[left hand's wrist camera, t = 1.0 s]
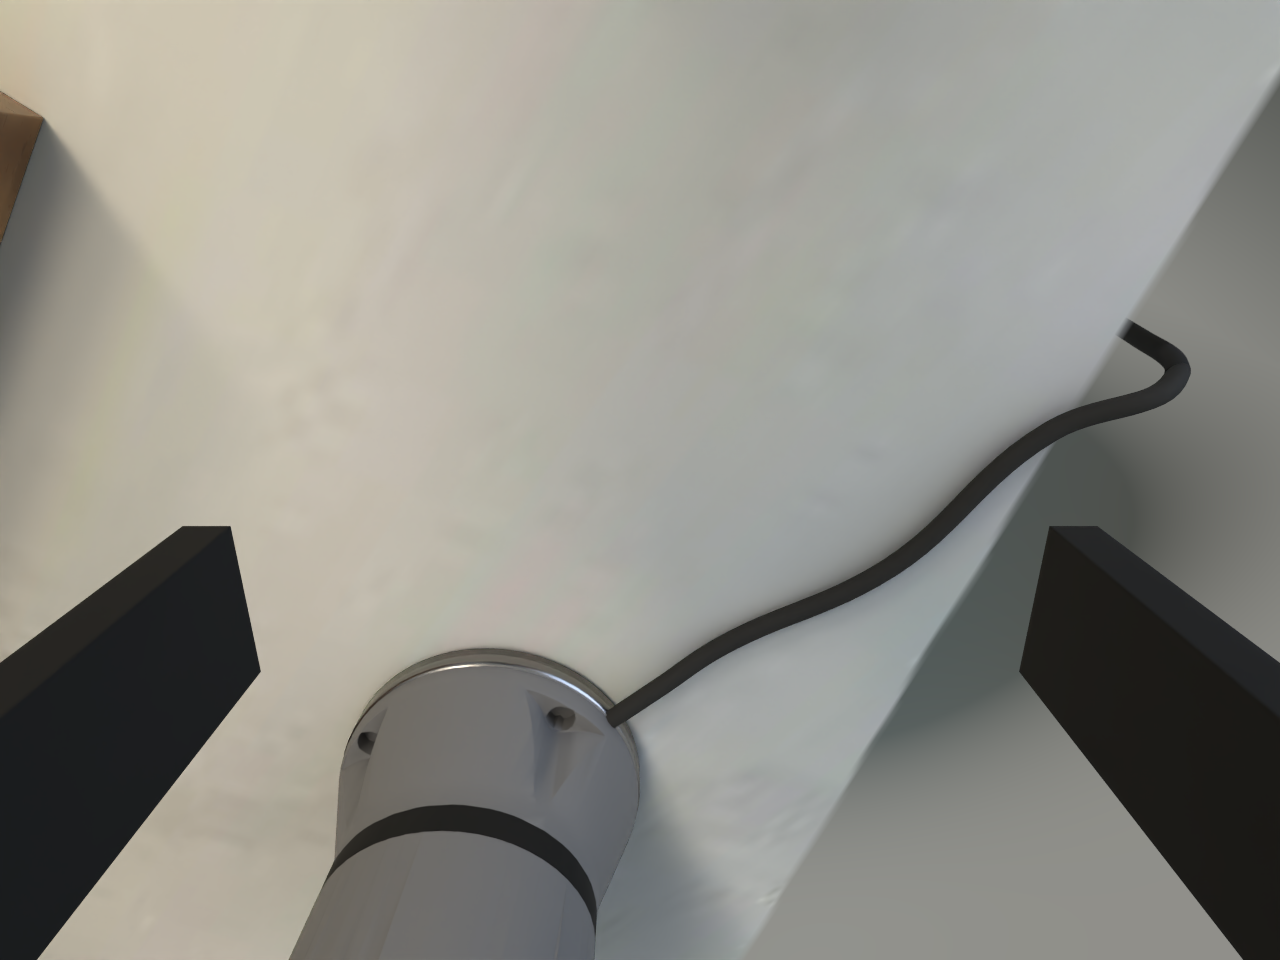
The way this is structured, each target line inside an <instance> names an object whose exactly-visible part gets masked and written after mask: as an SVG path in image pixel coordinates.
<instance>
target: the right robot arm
mask: <svg viewBox="0 0 1280 960" xmlns="http://www.w3.org/2000/svg"><path fill="white" fill-rule="evenodd" d="M1118 337H1120V338H1121V339H1123V340H1124V341H1126V342H1127V343H1129V344H1130V345H1132V346H1133V347H1135V348H1136V349H1138V350H1139V351H1141V352H1143V353H1145V354H1146V355H1148V356H1149V357H1151V358H1153V359H1154V360H1156V361H1157V362H1158V363H1159V364H1160V365H1161V366H1162V367H1163V368H1164V370H1165V372H1164V375H1163V376H1162V378H1161V379H1160V380H1159V381H1158V382H1156V383H1155V384H1154V385H1152V386H1150V387H1148V388H1146V389H1144V390H1141V391H1138V392H1135V393H1131V394H1127V395H1123V396H1119V397H1116V398H1111V399H1107V400H1103V401H1099V402H1095V403H1092V404H1089V405H1085V406H1082V407H1079V408H1076V409H1073V410H1070V411H1068V412H1066V413H1063V414H1061V415H1059V416H1057V417H1055V418H1053V419H1051V420H1049V421H1047V422H1045V423H1044V424H1042V425H1041V426H1039V427H1038V428H1036V429H1034V430H1033V431H1031V432H1030V433H1028V434H1027V435H1025V436H1024V437H1022V438H1021V439H1020V440H1018V441H1017V442H1016V443H1014V444H1013V445H1011V446H1010V447H1009V448H1008V449H1006V450H1005V451H1004V452H1003V453H1002V454H1000V455H999V456H998V457H997V458H996V459H994V460H993V461H992V462H991V463H990V464H989V465H988V466H987V467H986V468H985V469H983V470H982V471H981V472H980V473H979V474H978V475H977V476H976V477H975V478H974V479H973V480H972V481H971V482H970V483H969V484H968V485H967V486H966V487H965V488H964V489H963V490H962V491H961V492H960V493H959V494H958V495H957V497H956V498H955V499H954V500H953V501H952V502H951V503H950V504H949V505H948V506H947V507H946V508H945V509H944V510H943V511H942V512H941V513H940V514H939V515H938V516H937V517H936V518H935V519H934V520H933V521H932V522H931V523H929V524H928V525H927V526H926V527H925V528H924V529H923V530H922V531H921V532H920V533H918V534H917V535H916V536H915V537H914V538H913V539H911V540H910V541H909V542H908V543H906V544H905V545H904V546H902V547H901V548H900V549H898V550H897V551H896V552H894V553H893V554H891V555H890V556H888V557H887V558H885V559H884V560H882V561H881V562H879V563H877V564H876V565H874V566H872V567H871V568H869V569H867V570H866V571H864V572H862V573H860V574H858V575H857V576H855V577H853V578H851V579H849V580H847V581H845V582H843V583H841V584H839V585H836V586H834V587H832V588H830V589H827V590H825V591H823V592H820V593H818V594H816V595H813V596H811V597H808V598H806V599H803V600H801V601H798V602H796V603H793V604H791V605H788V606H785V607H783V608H780V609H778V610H775V611H773V612H770V613H768V614H766V615H763V616H761V617H758V618H756V619H754V620H752V621H750V622H747V623H745V624H743V625H741V626H739V627H737V628H735V629H733V630H731V631H729V632H727V633H725V634H723V635H721V636H719V637H718V638H716V639H714V640H712V641H710V642H709V643H707V644H705V645H704V646H702V647H700V648H699V649H697V650H696V651H694V652H693V653H691V654H690V655H688V656H687V657H686V658H684V659H683V660H681V661H680V662H679V663H677V664H676V665H674V666H673V667H672V668H670V669H669V670H667V671H666V672H665V673H663V674H662V675H660V676H659V677H657V678H656V679H654V680H653V681H651V682H650V683H648V684H647V685H645V686H644V687H642V688H641V689H639V690H638V691H636V692H635V693H633V694H632V695H630V696H629V697H627V698H626V699H624V700H623V701H621V702H620V703H618V704H617V705H615V706H614V705H613V703H612V702H611V701H610V700H609V699H608V698H607V697H606V696H605V695H604V694H603V693H602V692H601V691H600V690H599V689H598V688H597V687H595V686H594V685H593V684H592V683H590V682H589V681H588V680H586V679H585V678H583V677H582V676H580V675H579V674H577V673H575V672H573V671H572V670H570V669H568V668H566V667H564V666H562V665H560V664H557V663H555V662H553V661H550V660H547V659H545V658H542V657H539V656H535V655H531V654H527V653H523V652H517V651H511V650H503V649H470V650H461V651H455V652H450V653H445V654H442V655H438V656H434V657H432V658H429V659H426V660H424V661H421V662H419V663H417V664H415V665H413V666H411V667H409V668H407V669H405V670H404V671H402V672H401V673H399V674H397V675H396V676H395V677H393V678H392V679H391V680H390V681H388V682H387V683H386V684H385V685H384V686H383V687H382V688H381V689H380V690H379V691H378V692H377V693H376V694H375V695H374V697H373V698H372V699H371V700H370V701H369V703H368V705H367V706H366V708H365V709H364V711H363V713H362V715H361V716H360V718H359V720H358V722H357V724H356V726H355V728H354V730H353V732H352V734H351V736H350V738H349V740H348V743H347V746H346V749H345V753H344V757H343V761H342V765H341V770H340V778H339V793H338V810H337V828H336V845H335V860H334V863H333V865H332V867H331V869H330V871H329V873H328V876H327V878H326V880H325V882H324V885H323V887H322V889H321V891H320V893H319V895H318V897H317V900H316V902H315V904H314V906H313V908H312V910H311V913H310V915H309V917H308V919H307V921H306V923H305V926H304V928H303V930H302V932H301V934H300V936H299V939H298V941H297V943H296V945H295V947H294V949H293V952H292V954H291V956H290V958H289V960H594V955H595V935H596V919H597V910H598V908H599V906H600V904H601V901H602V899H603V897H604V894H605V892H606V890H607V888H608V885H609V883H610V881H611V879H612V876H613V874H614V872H615V870H616V867H617V865H618V863H619V861H620V858H621V856H622V854H623V852H624V849H625V847H626V845H627V842H628V840H629V837H630V835H631V832H632V829H633V826H634V822H635V818H636V814H637V810H638V804H639V759H638V753H637V749H636V745H635V741H634V739H633V736H632V734H631V731H630V729H629V727H628V725H627V723H626V721H627V720H628V719H630V718H631V717H633V716H634V715H636V714H637V713H639V712H640V711H642V710H643V709H645V708H646V707H648V706H649V705H651V704H652V703H654V702H655V701H657V700H658V699H660V698H661V697H663V696H664V695H666V694H667V693H669V692H670V691H672V690H673V689H675V688H676V687H678V686H679V685H680V684H682V683H683V682H685V681H686V680H687V679H689V678H690V677H692V676H693V675H694V674H696V673H697V672H699V671H700V670H702V669H703V668H705V667H706V666H708V665H709V664H711V663H712V662H714V661H716V660H717V659H719V658H721V657H723V656H725V655H726V654H728V653H730V652H732V651H734V650H736V649H738V648H740V647H742V646H744V645H746V644H748V643H750V642H752V641H754V640H757V639H759V638H761V637H763V636H766V635H768V634H770V633H773V632H775V631H778V630H780V629H783V628H785V627H788V626H790V625H793V624H795V623H798V622H801V621H803V620H806V619H808V618H811V617H813V616H816V615H818V614H821V613H823V612H826V611H828V610H831V609H833V608H835V607H838V606H840V605H842V604H844V603H847V602H849V601H851V600H853V599H855V598H857V597H859V596H861V595H863V594H865V593H867V592H869V591H871V590H872V589H874V588H876V587H878V586H880V585H881V584H883V583H885V582H886V581H888V580H890V579H891V578H893V577H895V576H896V575H898V574H899V573H901V572H902V571H904V570H905V569H907V568H908V567H909V566H911V565H912V564H914V563H915V562H916V561H918V560H919V559H920V558H921V557H923V556H924V555H925V554H927V553H928V552H929V551H930V550H931V549H932V548H934V547H935V546H936V545H937V544H938V543H939V542H941V541H942V540H943V539H944V538H945V537H946V536H947V535H948V534H949V533H950V532H951V531H952V530H953V529H954V528H955V527H956V526H957V525H958V524H959V523H960V522H961V521H962V520H963V519H964V518H965V517H966V516H967V515H968V514H969V513H970V512H971V511H972V510H973V509H974V508H975V507H976V506H977V505H978V504H979V503H980V502H981V501H982V500H983V499H984V498H985V497H986V496H987V495H988V494H989V493H990V492H991V491H992V490H993V489H994V488H995V487H996V486H997V485H999V484H1000V483H1001V482H1002V481H1003V480H1004V479H1005V478H1006V477H1007V476H1009V475H1010V474H1011V473H1012V472H1013V471H1014V470H1016V469H1017V468H1018V467H1019V466H1020V465H1022V464H1023V463H1024V462H1025V461H1027V460H1028V459H1030V458H1031V457H1032V456H1034V455H1035V454H1036V453H1038V452H1039V451H1041V450H1042V449H1044V448H1045V447H1047V446H1048V445H1050V444H1052V443H1053V442H1055V441H1056V440H1058V439H1060V438H1062V437H1064V436H1066V435H1067V434H1070V433H1072V432H1074V431H1077V430H1079V429H1083V428H1085V427H1088V426H1092V425H1095V424H1099V423H1103V422H1107V421H1111V420H1115V419H1119V418H1123V417H1127V416H1132V415H1135V414H1139V413H1142V412H1145V411H1148V410H1151V409H1154V408H1157V407H1159V406H1161V405H1164V404H1166V403H1167V402H1169V401H1171V400H1172V399H1174V398H1175V397H1176V396H1177V395H1178V394H1179V393H1180V392H1181V391H1182V390H1183V388H1184V387H1185V385H1186V383H1187V381H1188V379H1189V376H1190V374H1191V368H1190V365H1189V362H1188V359H1187V357H1186V356H1185V355H1184V353H1183V352H1182V351H1181V350H1180V349H1178V348H1177V347H1176V346H1174V345H1173V344H1171V343H1169V342H1168V341H1166V340H1164V339H1162V338H1160V337H1159V336H1157V335H1155V334H1153V333H1151V332H1150V331H1148V330H1146V329H1145V328H1143V327H1141V326H1140V325H1138V324H1136V323H1135V322H1133V321H1131V320H1129V319H1128V320H1127V322H1126V323H1125V325H1124V326H1123V328H1122V330H1121V331H1120V333H1119V335H1118Z"/></svg>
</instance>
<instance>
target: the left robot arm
mask: <svg viewBox="0 0 1280 960" xmlns="http://www.w3.org/2000/svg"><path fill="white" fill-rule="evenodd" d="M260 672H261V670H260V666H259V661H258V656H257V651H256V646H255V642H254V637H253V632H252V627H251V622H250V618H249V613H248V608H247V603H246V598H245V594H244V589H243V584H242V579H241V574H240V570H239V565H238V560H237V555H236V550H235V546H234V541H233V536H232V531H231V526H182V527H181V528H180V529H178V530H177V531H176V532H174V533H173V534H172V535H170V536H169V537H168V538H166V539H165V540H164V541H162V542H161V543H160V544H158V545H157V546H156V547H154V548H153V549H152V550H150V551H149V552H148V553H146V554H145V555H144V556H142V557H141V558H140V559H138V560H137V561H136V562H134V563H133V564H132V565H130V566H129V567H128V568H126V569H125V570H124V571H122V572H121V573H120V574H118V575H117V576H116V577H114V578H113V579H112V580H110V581H109V582H108V583H106V584H105V585H104V586H102V587H101V588H100V589H98V590H97V591H96V592H94V593H93V594H92V595H90V596H89V597H88V598H86V599H85V600H84V601H82V602H81V603H80V604H78V605H77V606H76V607H74V608H73V609H72V610H70V611H69V612H68V613H66V614H65V615H64V616H62V617H61V618H60V619H58V620H57V621H56V622H54V623H53V624H52V625H50V626H49V627H48V628H46V629H45V630H44V631H42V632H41V633H40V634H38V635H37V636H36V637H34V638H33V639H32V640H30V641H29V642H28V643H26V644H25V645H23V646H22V647H21V648H19V649H18V650H17V651H15V652H14V653H13V654H11V655H10V656H9V657H7V658H6V659H5V660H3V661H2V662H1V663H0V960H37V959H38V958H39V956H40V955H41V954H42V952H43V951H44V950H45V949H46V947H47V946H48V945H49V943H50V942H51V941H52V940H53V938H54V937H55V936H56V934H57V933H58V932H59V930H60V929H61V928H62V927H63V925H64V924H65V923H66V921H67V920H68V919H69V918H70V916H71V915H72V914H73V912H74V911H75V910H76V909H77V907H78V906H79V905H80V903H81V902H82V901H83V900H84V898H85V897H86V896H87V894H88V893H89V892H90V891H91V889H92V888H93V887H94V885H95V884H96V883H97V882H98V880H99V879H100V878H101V876H102V875H103V874H104V873H105V871H106V870H107V869H108V867H109V866H110V865H111V864H112V862H113V861H114V860H115V858H116V857H117V856H118V855H119V853H120V852H121V851H122V849H123V848H124V847H125V846H126V844H127V843H128V842H129V840H130V839H131V838H132V837H133V835H134V834H135V833H136V831H137V830H138V829H139V828H140V826H141V825H142V824H143V822H144V821H145V820H146V819H147V817H148V816H149V815H150V813H151V812H152V811H153V810H154V808H155V807H156V806H157V804H158V803H159V802H160V801H161V799H162V798H163V797H164V795H165V794H166V793H167V792H168V790H169V789H170V788H171V786H172V785H173V784H174V783H175V781H176V780H177V779H178V777H179V776H180V775H181V774H182V772H183V771H184V770H185V768H186V767H187V766H188V765H189V763H190V762H191V761H192V759H193V758H194V757H195V756H196V754H197V753H198V752H199V750H200V749H201V748H202V747H203V745H204V744H205V743H206V741H207V740H208V739H209V738H210V736H211V735H212V734H213V732H214V731H215V730H216V728H217V727H218V726H219V725H220V723H221V722H222V721H223V719H224V718H225V717H226V716H227V714H228V713H229V712H230V710H231V709H232V708H233V707H234V705H235V704H236V703H237V701H238V700H239V699H240V698H241V696H242V695H243V694H244V692H245V691H246V690H247V689H248V687H249V686H250V685H251V683H252V682H253V681H254V680H255V678H256V677H257V676H258V674H259V673H260ZM1019 672H1020V673H1021V674H1022V676H1023V677H1024V678H1025V680H1026V681H1027V682H1028V683H1029V685H1030V686H1031V687H1032V689H1033V690H1034V691H1035V692H1036V694H1037V695H1038V696H1039V698H1040V699H1041V700H1042V701H1043V703H1044V704H1045V705H1046V707H1047V708H1048V709H1049V710H1050V712H1051V713H1052V714H1053V716H1054V717H1055V718H1056V719H1057V721H1058V722H1059V723H1060V725H1061V726H1062V727H1063V729H1064V730H1065V731H1066V732H1067V734H1068V735H1069V736H1070V738H1071V739H1072V740H1073V741H1074V743H1075V744H1076V745H1077V746H1078V748H1079V749H1080V750H1081V752H1082V753H1083V754H1084V756H1085V757H1086V758H1087V759H1088V761H1089V762H1090V763H1091V764H1092V766H1093V767H1094V768H1095V770H1096V771H1097V772H1098V773H1099V775H1100V776H1101V777H1102V779H1103V780H1104V781H1105V783H1106V784H1107V785H1108V786H1109V788H1110V789H1111V790H1112V792H1113V793H1114V794H1115V795H1116V797H1117V798H1118V799H1119V801H1120V802H1121V803H1122V804H1123V806H1124V807H1125V808H1126V810H1127V811H1128V812H1129V813H1130V815H1131V816H1132V817H1133V819H1134V820H1135V821H1136V822H1137V824H1138V825H1139V826H1140V828H1141V829H1142V830H1143V831H1144V833H1145V834H1146V835H1147V837H1148V838H1149V839H1150V840H1151V842H1152V843H1153V844H1154V846H1155V847H1156V848H1157V849H1158V851H1159V852H1160V853H1161V855H1162V856H1163V857H1164V858H1165V860H1166V861H1167V862H1168V864H1169V865H1170V866H1171V867H1172V869H1173V870H1174V871H1175V873H1176V874H1177V875H1178V876H1179V878H1180V879H1181V880H1182V882H1183V883H1184V884H1185V885H1186V887H1187V888H1188V889H1189V891H1190V892H1191V893H1192V894H1193V896H1194V897H1195V898H1196V900H1197V901H1198V902H1199V903H1200V905H1201V906H1202V907H1203V909H1204V910H1205V911H1206V912H1207V914H1208V915H1209V916H1210V917H1211V919H1212V920H1213V921H1214V923H1215V924H1216V925H1217V927H1218V928H1219V929H1220V930H1221V932H1222V933H1223V934H1224V936H1225V937H1226V938H1227V939H1228V941H1229V942H1230V943H1231V945H1232V946H1233V947H1234V948H1235V950H1236V951H1237V952H1238V954H1239V955H1240V956H1241V957H1242V959H1243V960H1280V663H1279V662H1278V661H1277V660H1275V659H1274V658H1272V657H1271V656H1270V655H1269V654H1267V653H1266V652H1264V651H1263V650H1262V649H1260V648H1259V647H1258V646H1256V645H1255V644H1254V643H1252V642H1251V641H1250V640H1248V639H1247V638H1246V637H1244V636H1243V635H1242V634H1240V633H1239V632H1238V631H1236V630H1235V629H1234V628H1232V627H1231V626H1230V625H1228V624H1227V623H1226V622H1224V621H1223V620H1222V619H1220V618H1219V617H1218V616H1216V615H1215V614H1214V613H1212V612H1211V611H1210V610H1208V609H1207V608H1206V607H1204V606H1203V605H1202V604H1200V603H1199V602H1198V601H1196V600H1195V599H1194V598H1192V597H1191V596H1190V595H1188V594H1187V593H1186V592H1184V591H1183V590H1182V589H1180V588H1179V587H1178V586H1176V585H1175V584H1174V583H1172V582H1171V581H1170V580H1168V579H1167V578H1166V577H1164V576H1163V575H1162V574H1160V573H1159V572H1158V571H1156V570H1155V569H1154V568H1152V567H1151V566H1150V565H1148V564H1147V563H1146V562H1144V561H1143V560H1142V559H1140V558H1139V557H1138V556H1136V555H1135V554H1134V553H1132V552H1131V551H1130V550H1128V549H1127V548H1126V547H1124V546H1123V545H1122V544H1120V543H1119V542H1118V541H1116V540H1115V539H1114V538H1112V537H1111V536H1110V535H1108V534H1107V533H1106V532H1104V531H1103V530H1102V529H1100V528H1099V527H1098V526H1050V527H1049V531H1048V536H1047V541H1046V546H1045V550H1044V555H1043V560H1042V565H1041V570H1040V575H1039V579H1038V584H1037V589H1036V594H1035V598H1034V603H1033V608H1032V613H1031V618H1030V623H1029V627H1028V632H1027V637H1026V642H1025V646H1024V651H1023V656H1022V661H1021V666H1020V671H1019Z"/></svg>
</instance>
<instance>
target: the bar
mask: <svg viewBox="0 0 1280 960" xmlns="http://www.w3.org/2000/svg"><path fill="white" fill-rule="evenodd" d="M42 121H43V117H41V116H40V115H38V114H36V113H35V112H33V111H31V110H30V109H28V108H26V107H25V106H23V105H22V104H20V103H18V102H17V101H15V100H13V99H12V98H10V97H8V96H7V95H5V94H4V93H2V92H0V243H1V240H2V237H3V234H4V231H5V229H6V226H7V223H8V220H9V217H10V214H11V211H12V208H13V205H14V202H15V199H16V197H17V194H18V191H19V188H20V185H21V182H22V179H23V176H24V173H25V170H26V168H27V165H28V162H29V159H30V156H31V153H32V150H33V147H34V144H35V141H36V138H37V136H38V133H39V130H40V127H41V124H42Z"/></svg>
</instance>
